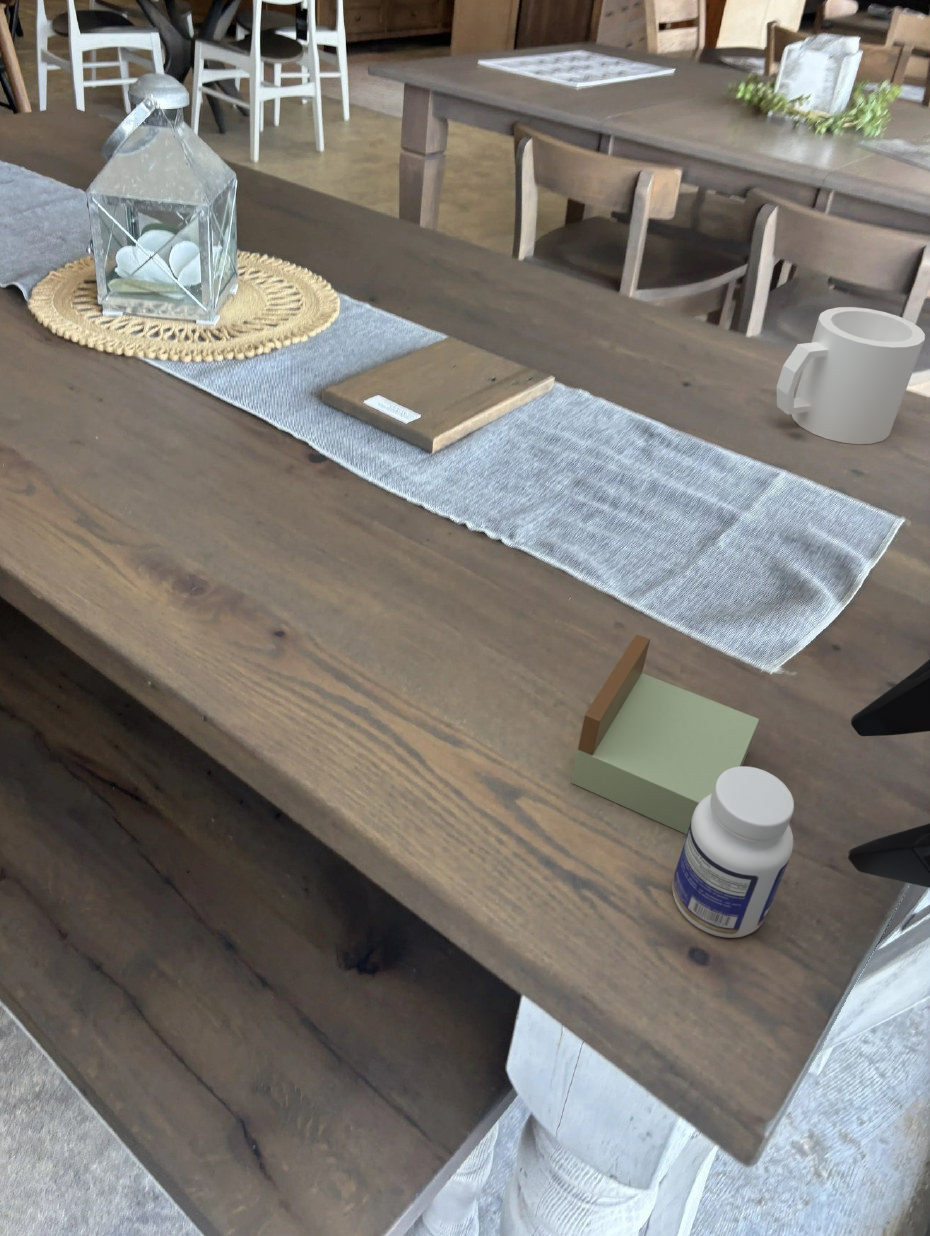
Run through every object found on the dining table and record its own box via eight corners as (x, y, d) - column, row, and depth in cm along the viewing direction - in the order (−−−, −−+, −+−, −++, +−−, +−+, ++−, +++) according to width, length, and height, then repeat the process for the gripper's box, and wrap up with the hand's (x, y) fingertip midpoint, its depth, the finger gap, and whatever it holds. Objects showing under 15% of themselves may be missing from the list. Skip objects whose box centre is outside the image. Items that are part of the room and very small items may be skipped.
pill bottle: (726, 849, 59) (764, 745, 54) (784, 922, 56) (831, 817, 50) (651, 877, 58) (683, 771, 52) (706, 953, 54) (746, 848, 49)
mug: (804, 453, 100) (835, 355, 94) (745, 408, 108) (770, 314, 102) (911, 437, 104) (948, 342, 98) (847, 394, 112) (877, 303, 106)
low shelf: (748, 751, 66) (772, 684, 63) (709, 845, 60) (732, 776, 56) (620, 699, 70) (636, 633, 66) (570, 782, 63) (584, 714, 60)
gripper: (1093, 429, 45) (778, 565, 54) (1198, 691, 31) (745, 816, 40) (1201, 610, 48) (883, 710, 57) (1345, 930, 33) (888, 995, 43)
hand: (853, 789), depth 49 cm, fingers open, 9 cm apart
